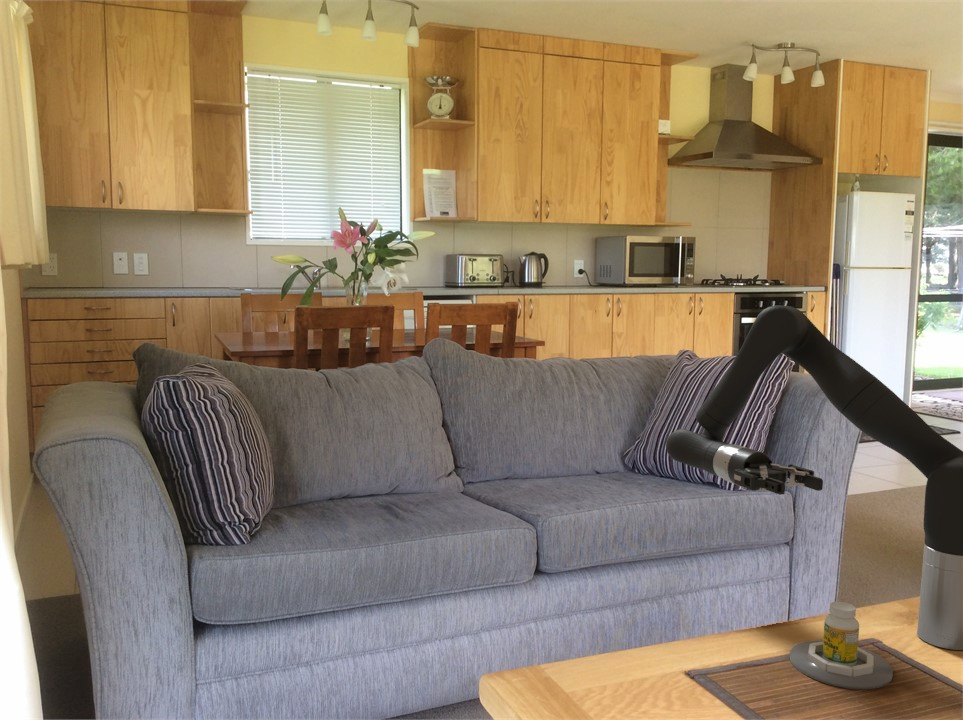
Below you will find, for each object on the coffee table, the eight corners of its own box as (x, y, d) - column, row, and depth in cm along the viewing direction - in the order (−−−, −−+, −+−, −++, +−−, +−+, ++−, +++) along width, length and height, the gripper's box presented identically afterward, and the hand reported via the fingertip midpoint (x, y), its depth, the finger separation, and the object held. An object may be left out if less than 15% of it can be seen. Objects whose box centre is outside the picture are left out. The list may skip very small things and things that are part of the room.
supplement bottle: (863, 666, 141) (868, 610, 140) (837, 670, 139) (841, 614, 138) (841, 651, 146) (845, 598, 145) (815, 655, 144) (818, 601, 143)
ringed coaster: (793, 637, 153) (794, 627, 153) (891, 656, 146) (892, 645, 146) (785, 675, 139) (786, 664, 138) (893, 698, 132) (894, 686, 132)
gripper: (713, 449, 161) (771, 469, 146) (772, 445, 167) (835, 463, 152) (711, 488, 162) (769, 511, 147) (770, 482, 168) (832, 504, 153)
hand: (802, 487), depth 150 cm, fingers open, 8 cm apart
